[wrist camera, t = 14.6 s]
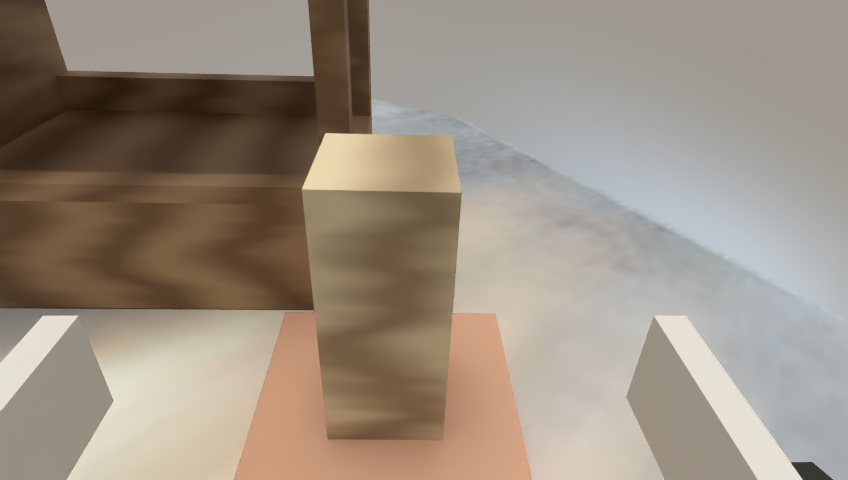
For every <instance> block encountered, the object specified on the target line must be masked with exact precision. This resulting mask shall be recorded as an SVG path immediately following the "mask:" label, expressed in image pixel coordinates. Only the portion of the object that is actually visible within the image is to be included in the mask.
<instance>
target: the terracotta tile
mask: <svg viewBox="0 0 848 480" xmlns="http://www.w3.org/2000/svg"><path fill="white" fill-rule="evenodd" d="M234 480H532V478H531V473H530V469H529V464H528V460H527V455H526V451H525V446H524V441H523V437H522V432H521V428H520V423H519V419H518V414H517V410H516V405H515V401H514V396H513V392H512V387H511V383H510V378H509V374H508V369H507V365H506V360H505V356H504V351H503V347H502V342H501V338H500V333H499V329H498V324H497V320H496V315H495V314H476V313H452V326H451V340H450V353H449V366H448V379H447V393H446V406H445V419H444V432H443V440H350V439H328V438H327V429H326V419H325V409H324V400H323V390H322V380H321V371H320V361H319V352H318V342H317V332H316V323H315V313H311V312H286V313H285V316H284V320H283V323H282V326H281V329H280V333H279V336H278V339H277V342H276V345H275V349H274V352H273V355H272V358H271V362H270V365H269V368H268V371H267V375H266V378H265V381H264V384H263V387H262V391H261V394H260V397H259V400H258V404H257V407H256V410H255V413H254V416H253V420H252V423H251V426H250V429H249V433H248V436H247V439H246V442H245V446H244V449H243V452H242V455H241V458H240V462H239V465H238V468H237V471H236V475H235V478H234Z"/></svg>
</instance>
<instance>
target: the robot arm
mask: <svg viewBox="0 0 848 480" xmlns="http://www.w3.org/2000/svg"><path fill="white" fill-rule="evenodd" d="M627 399H628V402H629V404H630V406H631V408H632V410H633V412H634V414H635V416H636V419H637V421H638V423H639V425H640V427H641V429H642V431H643V434H644V436H645V438H646V440H647V442H648V444H649V446H650V448H651V451H652V453H653V455H654V457H655V459H656V461H657V463H658V466H659V468H660V470H661V472H662V474H663V476H664V478H665V480H833V479H832V478H830V477H829V476H828V475H827V474H826V473H824V472H823V471H822V470H821V469H820V468H818V467H817V466H816V465H815V464H814V463H813V462H790V461H789V460H788V458H787V457H786V456H785V454H784V453H783V451H782V450H781V449H780V447H779V446H778V444H777V443H776V442H775V440H774V439H773V437H772V436H771V435H770V433H769V432H768V430H767V429H766V428H765V426H764V425H763V423H762V422H761V421H760V419H759V418H758V416H757V415H756V414H755V412H754V411H753V409H752V408H751V407H750V405H749V404H748V402H747V401H746V400H745V398H744V397H743V395H742V394H741V392H740V391H739V390H738V388H737V387H736V385H735V384H734V383H733V381H732V380H731V378H730V377H729V376H728V374H727V373H726V371H725V370H724V369H723V367H722V366H721V364H720V363H719V362H718V360H717V359H716V357H715V356H714V355H713V353H712V352H711V350H710V349H709V348H708V346H707V345H706V343H705V342H704V341H703V339H702V338H701V336H700V335H699V334H698V332H697V331H696V329H695V328H694V327H693V325H692V324H691V322H690V321H689V320H688V318H687V317H686V316H654V317H653V320H652V323H651V326H650V328H649V331H648V334H647V337H646V340H645V343H644V346H643V349H642V352H641V355H640V358H639V361H638V364H637V367H636V370H635V373H634V376H633V379H632V382H631V385H630V388H629V391H628V394H627ZM112 402H113V398H112V396H111V394H110V391H109V389H108V386H107V384H106V381H105V379H104V377H103V374H102V372H101V369H100V367H99V364H98V362H97V360H96V357H95V355H94V352H93V350H92V347H91V345H90V343H89V340H88V338H87V335H86V333H85V330H84V328H83V325H82V323H81V321H80V318H79V316H42V317H41V319H40V320H39V321H38V322H37V323H36V324H35V325H34V326H33V327H32V328H31V330H30V331H29V332H28V333H27V334H26V335H25V336H24V337H23V338H22V340H21V341H20V342H19V343H18V344H17V345H16V346H15V347H14V348H13V350H12V351H11V352H10V353H9V354H8V355H7V356H6V357H5V358H4V359H3V361H2V362H1V363H0V480H66V479H67V478H68V476H69V474H70V473H71V471H72V469H73V468H74V466H75V464H76V463H77V461H78V459H79V458H80V456H81V454H82V453H83V451H84V449H85V447H86V446H87V444H88V442H89V441H90V439H91V437H92V436H93V434H94V432H95V431H96V429H97V427H98V426H99V424H100V422H101V421H102V419H103V417H104V416H105V414H106V412H107V411H108V409H109V407H110V406H111V404H112Z"/></svg>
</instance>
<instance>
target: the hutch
mask: <svg viewBox="0 0 848 480" xmlns="http://www.w3.org/2000/svg"><path fill="white" fill-rule="evenodd" d="M308 5H309V18H310V30H311V43H312V55H313V68H314V76H270V75H266V76H265V75H228V74H227V75H226V74H185V73H143V72H142V73H141V72H139V73H138V72H99V71H67V68H66V65H65V62H64V59H63V56H62V53H61V50H60V47H59V44H58V41H57V38H56V34H55V31H54V28H53V25H52V22H51V19H50V16H49V13H48V10H47V7H46V3H45V1H44V0H0V308H153V309H312V310H314V303H313V294H312V284H311V274H310V265H309V255H308V245H307V236H306V226H305V216H304V207H303V197H302V187H303V185H304V183H305V180H306V178H307V176H308V173H309V171H310V169H311V166H312V164H313V161H314V159H315V157H316V154H317V152H318V150H319V147H320V145H321V143H322V140H323V138H324V135H325V133H338V134H372V117H371V75H370V35H369V34H370V33H369V0H308Z"/></svg>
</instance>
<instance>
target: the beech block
mask: <svg viewBox="0 0 848 480" xmlns="http://www.w3.org/2000/svg"><path fill="white" fill-rule="evenodd" d="M461 194H462V192H461V186H460V180H459V174H458V168H457V162H456V156H455V150H454V144H453V138H452V136H421V135H379V134H338V133H325V135H324V138H323V140H322V143H321V145H320V147H319V150H318V152H317V154H316V157H315V159H314V161H313V164H312V166H311V169H310V171H309V173H308V176H307V178H306V180H305V183H304V185H303V187H302V197H303V207H304V216H305V226H306V236H307V245H308V255H309V265H310V274H311V284H312V294H313V303H314V313H315V323H316V332H317V342H318V352H319V361H320V371H321V380H322V390H323V400H324V409H325V419H326V429H327V438H328V439H350V440H443V432H444V419H445V406H446V393H447V379H448V366H449V353H450V340H451V326H452V313H453V300H454V287H455V273H456V260H457V247H458V234H459V220H460V207H461Z"/></svg>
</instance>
